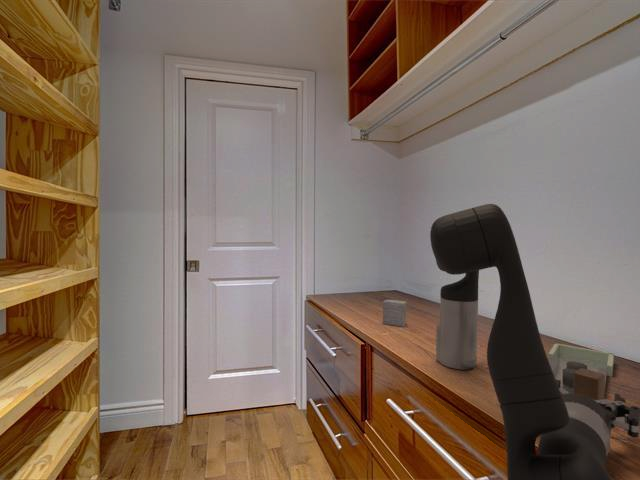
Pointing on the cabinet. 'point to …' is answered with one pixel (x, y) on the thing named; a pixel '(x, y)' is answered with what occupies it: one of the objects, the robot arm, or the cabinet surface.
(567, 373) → the puck
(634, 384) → the cabinet surface
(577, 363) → the puck
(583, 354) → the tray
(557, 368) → the slot board
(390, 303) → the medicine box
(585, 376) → the wooden block
